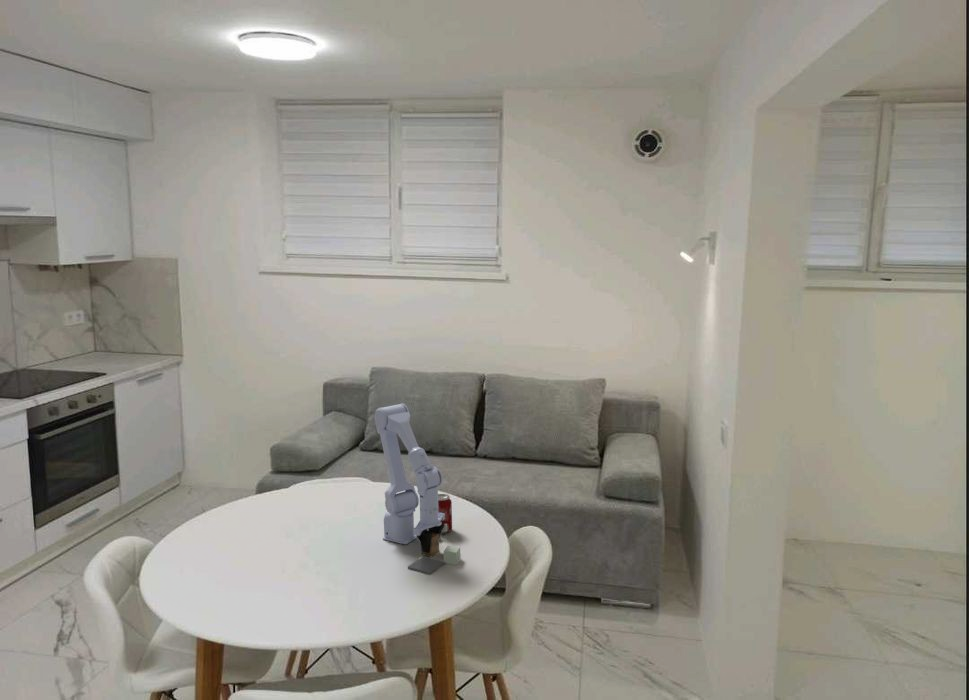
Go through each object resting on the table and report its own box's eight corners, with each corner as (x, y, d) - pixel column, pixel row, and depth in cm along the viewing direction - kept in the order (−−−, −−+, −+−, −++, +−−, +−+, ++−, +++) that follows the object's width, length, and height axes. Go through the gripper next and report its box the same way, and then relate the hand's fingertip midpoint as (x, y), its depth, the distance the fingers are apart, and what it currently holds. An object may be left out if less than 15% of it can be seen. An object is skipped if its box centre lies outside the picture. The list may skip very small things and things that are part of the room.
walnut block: (421, 554, 231) (420, 536, 230) (428, 549, 235) (428, 531, 234) (432, 557, 229) (431, 538, 228) (439, 552, 233) (438, 533, 232)
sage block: (443, 563, 225) (443, 551, 224) (447, 557, 229) (447, 545, 228) (456, 565, 224) (456, 552, 223) (460, 559, 228) (460, 547, 227)
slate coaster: (407, 568, 222) (407, 566, 222) (423, 558, 228) (422, 556, 228) (430, 574, 218) (430, 572, 218) (444, 563, 225) (444, 561, 224)
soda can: (449, 535, 245) (448, 501, 243) (429, 534, 246) (428, 499, 244) (454, 527, 251) (453, 493, 249) (435, 526, 252) (434, 492, 250)
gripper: (426, 517, 221) (427, 560, 223) (452, 501, 234) (453, 542, 236) (407, 513, 225) (408, 555, 227) (433, 498, 237) (434, 538, 239)
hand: (430, 548), depth 232 cm, fingers closed on walnut block, 4 cm apart
